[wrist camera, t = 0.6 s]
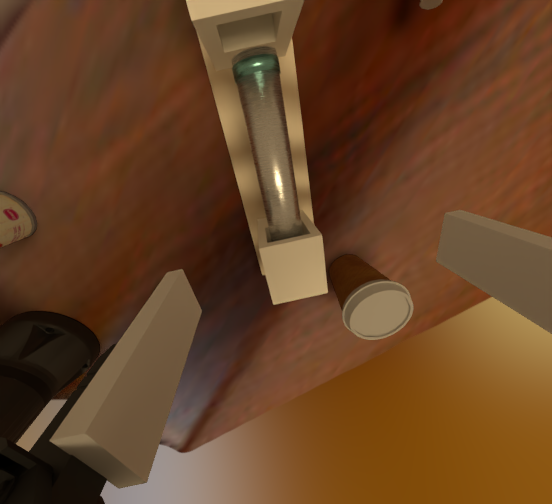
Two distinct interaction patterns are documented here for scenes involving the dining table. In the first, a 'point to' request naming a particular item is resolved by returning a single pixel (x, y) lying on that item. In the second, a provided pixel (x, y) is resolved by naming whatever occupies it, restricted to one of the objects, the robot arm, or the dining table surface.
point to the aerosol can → (15, 219)
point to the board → (240, 144)
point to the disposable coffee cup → (369, 299)
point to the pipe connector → (430, 4)
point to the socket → (243, 26)
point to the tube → (269, 137)
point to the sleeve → (293, 262)
